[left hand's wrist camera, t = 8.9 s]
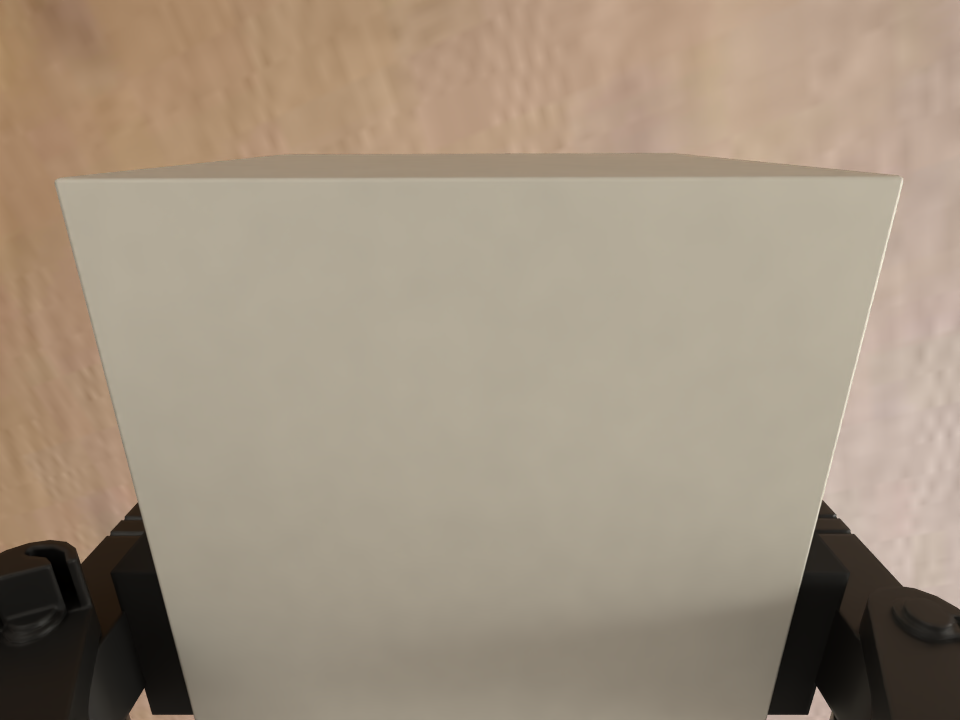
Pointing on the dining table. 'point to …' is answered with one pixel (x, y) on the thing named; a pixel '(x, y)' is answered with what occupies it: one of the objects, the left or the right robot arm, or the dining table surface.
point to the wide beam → (479, 421)
